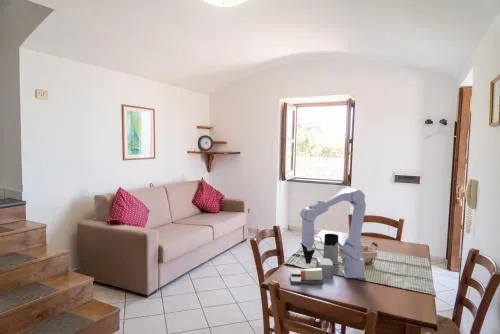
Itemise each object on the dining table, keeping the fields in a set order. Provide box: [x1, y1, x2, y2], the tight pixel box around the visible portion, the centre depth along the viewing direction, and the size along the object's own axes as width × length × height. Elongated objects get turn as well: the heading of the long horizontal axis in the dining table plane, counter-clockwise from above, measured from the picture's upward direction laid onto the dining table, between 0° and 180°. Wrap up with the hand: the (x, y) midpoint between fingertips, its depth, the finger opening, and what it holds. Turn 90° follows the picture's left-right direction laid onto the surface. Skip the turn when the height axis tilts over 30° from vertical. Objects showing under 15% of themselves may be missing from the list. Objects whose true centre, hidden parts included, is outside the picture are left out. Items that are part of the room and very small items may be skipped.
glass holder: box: [313, 233, 339, 265], centre depth 179 cm, size 9×14×15 cm, turn 71°
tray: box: [289, 272, 323, 286], centre depth 154 cm, size 14×9×2 cm, turn 86°
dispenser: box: [315, 257, 334, 279], centre depth 162 cm, size 7×9×7 cm
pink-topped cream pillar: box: [300, 267, 323, 280], centre depth 154 cm, size 10×2×4 cm, turn 86°
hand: (307, 260), depth 154 cm, fingers open, 7 cm apart
